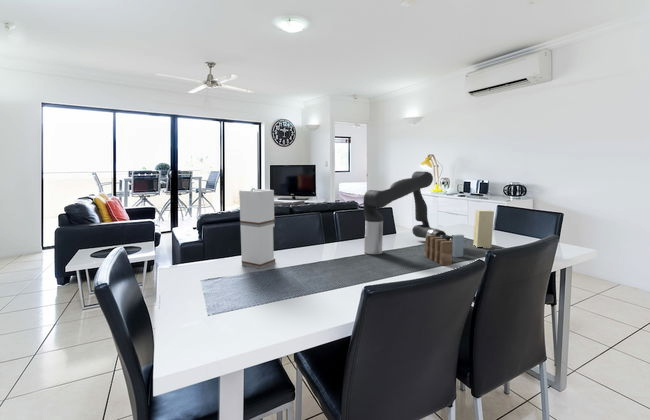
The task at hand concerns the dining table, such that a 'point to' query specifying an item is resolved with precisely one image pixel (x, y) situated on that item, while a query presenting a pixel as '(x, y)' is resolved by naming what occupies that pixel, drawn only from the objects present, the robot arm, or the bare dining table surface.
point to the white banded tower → (257, 227)
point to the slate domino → (458, 245)
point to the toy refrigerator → (483, 228)
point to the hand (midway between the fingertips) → (453, 242)
